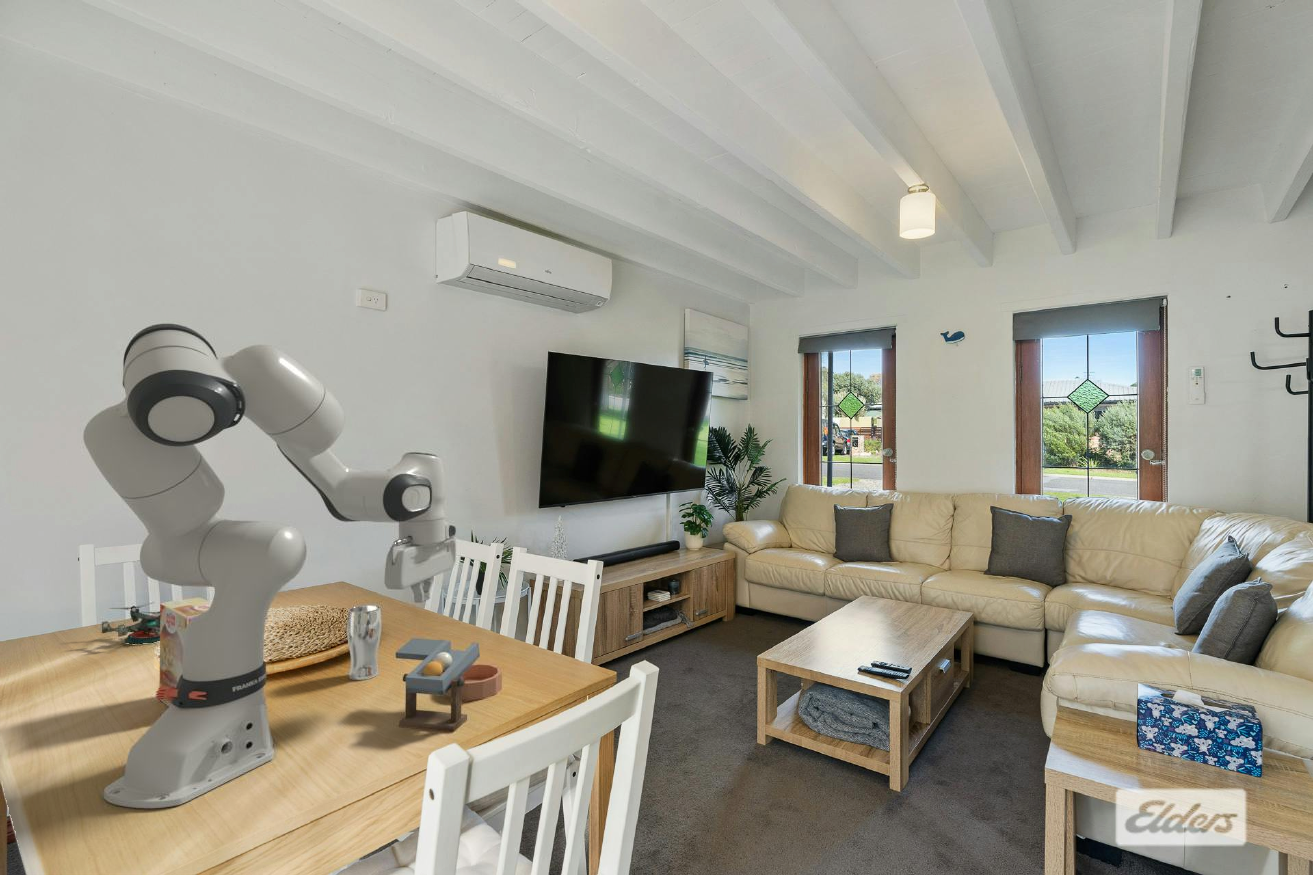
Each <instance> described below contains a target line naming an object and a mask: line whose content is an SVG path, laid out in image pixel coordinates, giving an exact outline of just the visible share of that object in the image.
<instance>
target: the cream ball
mask: <svg viewBox="0 0 1313 875" xmlns="http://www.w3.org/2000/svg"><path fill="white" fill-rule="evenodd" d="M433 661H435V662H438V663H440V664H441V666H442V668H443V671H446V670H447V669H448V668H449V667H450V666H451V664H452V657H451V655H450V654H448V653H446V652H441V653H439V654H437V655H436V656H435V657H434V659H433Z"/></svg>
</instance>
